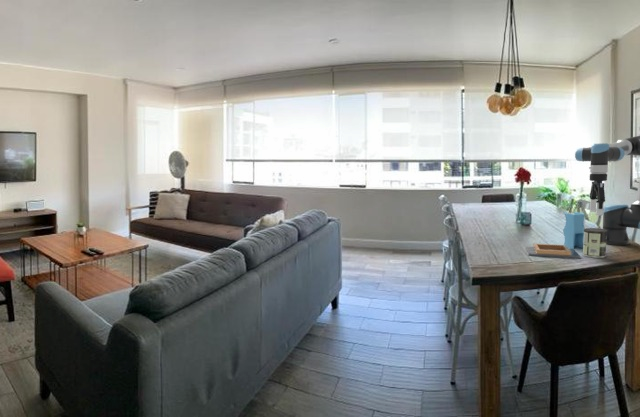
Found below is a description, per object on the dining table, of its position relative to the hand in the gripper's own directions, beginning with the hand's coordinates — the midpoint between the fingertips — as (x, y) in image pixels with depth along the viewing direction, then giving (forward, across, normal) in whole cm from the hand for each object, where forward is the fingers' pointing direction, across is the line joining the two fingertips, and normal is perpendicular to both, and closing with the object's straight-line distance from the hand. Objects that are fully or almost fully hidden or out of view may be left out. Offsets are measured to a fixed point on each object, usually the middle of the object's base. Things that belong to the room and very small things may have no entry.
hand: (596, 213), depth 210 cm
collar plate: (+23, 0, -20) cm, 30 cm away
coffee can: (+23, 0, 0) cm, 23 cm away
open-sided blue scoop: (+23, -19, -6) cm, 31 cm away
